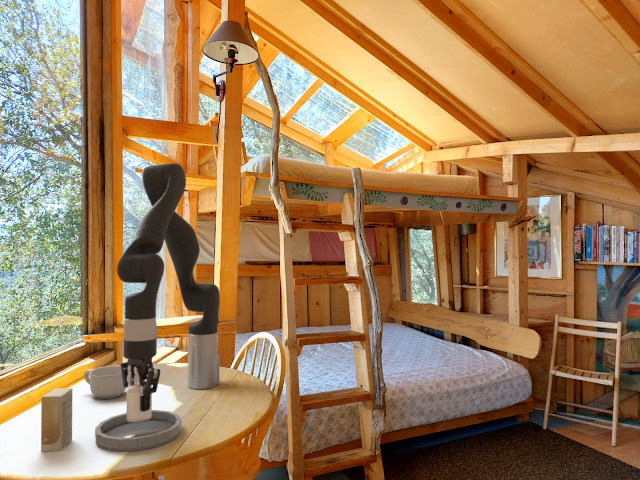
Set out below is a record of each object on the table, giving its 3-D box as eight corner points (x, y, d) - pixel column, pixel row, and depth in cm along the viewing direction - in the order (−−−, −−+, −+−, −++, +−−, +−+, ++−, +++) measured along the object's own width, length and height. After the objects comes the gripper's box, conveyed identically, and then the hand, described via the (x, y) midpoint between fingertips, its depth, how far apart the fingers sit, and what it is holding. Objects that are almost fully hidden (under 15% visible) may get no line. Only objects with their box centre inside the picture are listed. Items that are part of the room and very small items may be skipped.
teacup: (135, 393, 147) (135, 367, 148) (106, 403, 138) (107, 375, 138) (103, 387, 153) (103, 362, 153) (73, 397, 143) (73, 370, 144)
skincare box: (53, 440, 111) (54, 387, 111) (72, 440, 111) (73, 387, 111) (39, 452, 104) (40, 396, 105) (60, 451, 105) (60, 395, 105)
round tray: (152, 415, 127) (152, 405, 127) (196, 432, 116) (196, 421, 116) (80, 437, 112) (80, 425, 112) (123, 459, 101) (123, 446, 101)
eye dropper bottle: (146, 423, 112) (146, 371, 112) (123, 422, 112) (123, 371, 112) (154, 416, 116) (154, 367, 116) (132, 415, 116) (132, 366, 117)
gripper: (171, 337, 113) (170, 410, 113) (138, 331, 122) (137, 398, 121) (142, 342, 107) (141, 419, 107) (110, 335, 116) (109, 406, 116)
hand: (139, 408), depth 114 cm, fingers closed on eye dropper bottle, 4 cm apart
